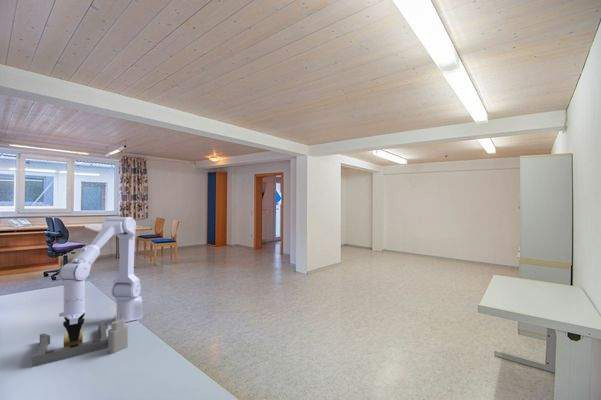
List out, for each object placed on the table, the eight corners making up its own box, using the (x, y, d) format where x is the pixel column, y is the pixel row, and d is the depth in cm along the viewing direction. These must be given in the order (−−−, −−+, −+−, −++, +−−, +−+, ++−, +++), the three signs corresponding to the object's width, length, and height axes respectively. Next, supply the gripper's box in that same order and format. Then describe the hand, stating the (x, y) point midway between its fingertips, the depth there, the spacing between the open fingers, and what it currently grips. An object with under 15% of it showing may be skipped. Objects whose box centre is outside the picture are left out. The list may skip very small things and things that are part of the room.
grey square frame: (107, 327, 115) (107, 320, 115) (110, 347, 100) (110, 338, 100) (39, 342, 103) (39, 333, 103) (31, 367, 88) (31, 356, 88)
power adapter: (107, 351, 97) (107, 315, 97) (123, 344, 102) (123, 310, 102) (112, 354, 96) (112, 317, 95) (128, 346, 100) (128, 312, 100)
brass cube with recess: (82, 344, 102) (82, 330, 102) (82, 349, 98) (82, 334, 98) (64, 348, 99) (64, 333, 99) (63, 353, 95) (63, 338, 95)
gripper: (60, 295, 102) (60, 333, 102) (57, 307, 91) (57, 350, 90) (85, 291, 106) (85, 328, 106) (85, 302, 95) (85, 344, 95)
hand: (74, 338), depth 99 cm, fingers closed on brass cube with recess, 4 cm apart
